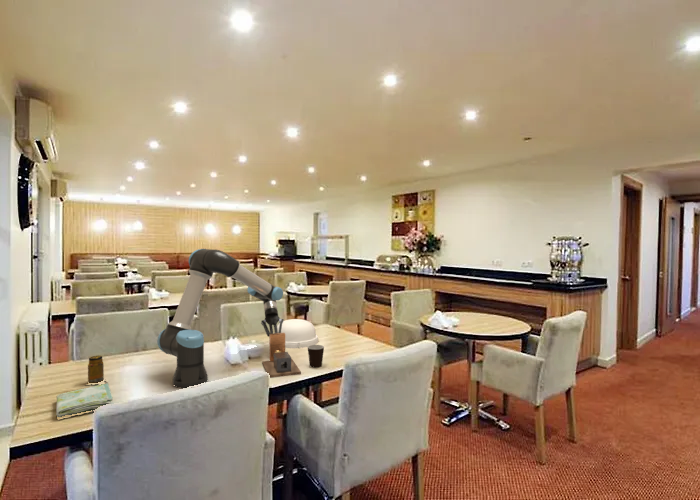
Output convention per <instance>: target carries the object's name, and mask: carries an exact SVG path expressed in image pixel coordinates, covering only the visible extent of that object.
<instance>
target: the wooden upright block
mask: <svg viewBox="0 0 700 500" xmlns="http://www.w3.org/2000/svg"><path fill="white" fill-rule="evenodd" d="M268 340H269V346H268V348H269V350H268V352H269V356H268V357H269V358H268V359H269V360H268V361H274V353H280V352H286V348H285V333H274V332H273V334H269V339H268ZM281 364H285V362H281Z"/></svg>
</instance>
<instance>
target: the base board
mask: <svg viewBox="0 0 700 500" xmlns="http://www.w3.org/2000/svg"><path fill="white" fill-rule="evenodd" d="M261 365H262V367H263V369H264V371H265V373H266V372H267V373H269V375H270V378H280V377H288V376H295V375H301V374H302V371H301V369H300V368H299V367H298V365H297V363H296V362H295V361H294V360H293V358H291V371H290V372H281V373H277V372H276V370H275V368H274V361H270V360H264V361H262V362H261ZM270 378H269V379H270Z"/></svg>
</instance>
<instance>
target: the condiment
mask: <svg viewBox="0 0 700 500" xmlns="http://www.w3.org/2000/svg"><path fill="white" fill-rule="evenodd" d="M104 373H105V371H104V361H103V356H102V355H93V356H90V357H89V358H88V364H87V383H88V382H89V383H98V382H101V381H103V380H104V379H105V377H104Z"/></svg>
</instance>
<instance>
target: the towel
mask: <svg viewBox="0 0 700 500" xmlns="http://www.w3.org/2000/svg"><path fill="white" fill-rule="evenodd" d="M112 401H113V396H112V392H111V389H110V386H109V382H107V383H106V384H101V385H92V386H90V387H89V386H88V387H86V388H81V389H76V390H72V391H68V392H64V393H60V394H58V395H56V408H55V409H56V410H55V412H56V413H55V416H56V415H57V417H62V416H65V415H72V414H77V413H81V412H86V411H91V410H92V411H93V410H95V409H97V408H98V407H100V406H103V405H106V404H111V405H112V403H111V402H112Z"/></svg>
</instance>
